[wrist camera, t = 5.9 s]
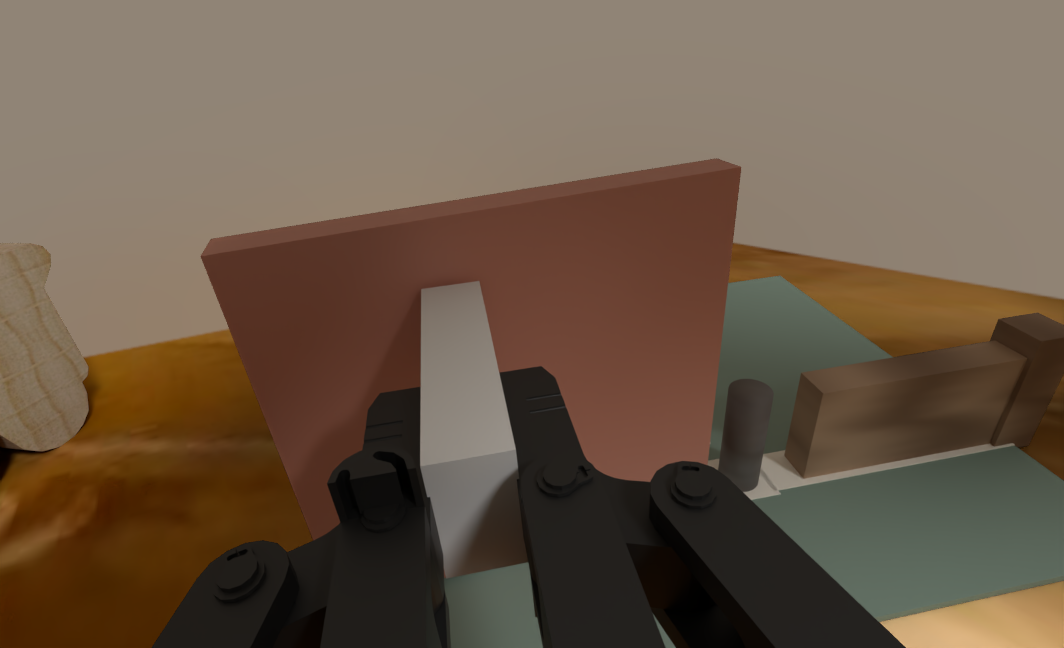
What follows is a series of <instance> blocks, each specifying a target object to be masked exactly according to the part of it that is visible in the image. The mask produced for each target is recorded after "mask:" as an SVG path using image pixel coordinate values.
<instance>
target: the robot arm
mask: <svg viewBox="0 0 1064 648" xmlns="http://www.w3.org/2000/svg"><path fill="white" fill-rule="evenodd" d="M327 486H328V489H329V491H330V494H331V497H332V500H333V503H334V506H335V508H336V511H337V514H338V517H339V520H340V524H339V525H337V526H336V527H335V528H333V529H332V530H331V531H330V532H328V533H327V534H325V535H323V536H321V537H319V538H318V539H316V540H314V541H312V542H309V543H307V544H305V545H303V546H300V547H298V548H296V549H294V550H291V551H289V552H286V551H285V550H284V549H283V548H282V547H281V546H280V545H279V544H277V543H274V542H269V541H264V540H262V541H256V542H249V543H245V544H242V545H240V546H238V547H235V548H233V549H231V550H228V551H227V552H225V553H224V554H222V555H221V556H220V557H218V558H217V559H216V560H214V561H213V562H211V563H210V564H209V565H208V567H207V568H206V569H205V570H204V571H203V572H202V573H201V575H200V576H199V577H198V578H197V580H196V581H195V583H194V584H193V586H192V587H191V589H190V590H189V592H188V593H187V595H186V596H185V598H184V599H183V601H182V602H181V604H180V605H179V607H178V608H177V610H176V611H175V613H174V614H173V616H172V618H171V619H170V621H169V622H168V624H167V625H166V627H165V628H164V630H163V631H162V633H161V634H160V636H159V637H158V639H157V640H156V642H155V643H154V645H153V646H152V648H451V639H450V618H449V606H448V601H447V597H446V593H445V586H444V571H445V575H446V579H447V578H452V577H457V576H462V575H467V574H472V573H477V572H482V571H487V570H492V569H497V568H502V567H507V566H512V565H517V564H522V563H527V562H528V563H529V568H530V576H531V584H532V593H533V602H534V611H535V617H537V619H538V624H539V629H540V635H541V640H542V645H543V648H666V647H665V645H664V642H663V639H662V637H661V634H660V631H659V629H658V626H657V624H656V621H655V618H656V619H657V621H658V622H659V624H660V625H661V627H662V628H663V629H664V631H665V632H666V634H667V635H668V637H669V638H670V640H671V641H672V643H673V644H674V646H675V647H676V648H906V647H905V646H903V645H902V644H901V643H900V642H899V641H898V640H897V639H896V638H895V637H894V636H893V635H892V634H891V633H890V632H889V631H888V630H887V629H886V628H885V627H884V626H883V625H881V624H880V623H879V622H878V621H877V620H876V619H875V618H874V617H873V616H872V615H871V614H870V613H869V612H868V611H867V610H866V609H865V608H864V607H863V606H862V605H861V604H860V603H858V602H857V601H856V600H855V599H854V598H853V597H852V596H851V595H850V594H849V593H848V592H847V591H846V590H845V589H844V588H843V587H842V586H841V585H840V584H839V583H838V582H837V581H835V580H834V579H833V578H832V577H831V576H830V575H829V574H828V573H827V572H826V571H825V570H824V569H823V568H822V567H821V566H820V565H819V564H818V563H817V562H816V561H815V560H813V559H812V558H811V557H810V556H809V555H808V554H807V553H806V552H805V551H804V550H803V549H802V548H801V547H800V546H799V545H798V544H797V543H796V542H795V541H794V540H793V539H792V538H790V537H789V536H788V535H787V534H786V533H785V532H784V531H783V530H782V529H781V528H780V527H779V526H778V525H777V524H776V523H775V522H774V521H773V520H772V519H771V518H770V517H769V516H767V515H766V514H765V513H764V512H763V511H762V510H761V509H760V508H759V507H758V506H757V505H756V504H755V503H754V502H753V501H752V500H751V499H750V498H749V497H748V496H747V495H745V494H744V493H743V492H742V491H741V490H740V489H739V488H738V487H737V486H736V485H735V484H734V483H733V482H732V481H731V480H730V479H729V478H728V477H727V476H725V475H724V474H722V473H721V472H720V471H718V470H717V469H715V468H714V467H711V466H708V465H705V464H702V463H699V462H691V461H679V462H674V463H670V464H667V465H665V466H664V467H662V468H660V469H659V470H657V471H656V473H655V474H654V476H653V478H652V479H651V481H650V482H646V481H633V480H624V479H618V478H614V477H611V476H608V475H605V474H603V473H602V472H600V471H598V470H597V469H595V467H594V466H593V464H592V463H590V462H589V461H587V459H586V457H585V455H584V454H583V451H582V448H581V446H580V443H579V440H578V437H577V435H576V432H575V429H574V427H573V424H572V421H571V419H570V416H569V413H568V410H567V408H566V405H565V402H564V400H563V397H562V396H561V392H560V389H559V386H558V383H557V381H556V378H555V377H554V376H553V375H552V374H550V373H549V372H548V371H547V370H546V369H544V368H543V367H542V366H538V367H531V368H525V369H519V370H512V371H506V372H500V373H499V369H498V365H497V360H496V356H495V351H494V346H493V342H492V337H491V333H490V328H489V323H488V319H487V314H486V309H485V305H484V300H483V296H482V291H481V286H480V282H479V281H475V282H468V283H461V284H453V285H446V286H439V287H432V288H425V289H421V387H415V388H409V389H402V390H396V391H390V392H384V393H380V394H379V395H378V396H377V398H376V399H375V400H374V402H373V403H372V405H371V406H370V407H369V409H368V413H367V420H366V430H365V434H364V444H363V448H362V451H358V452H357V453H355V454H353V455H351V456H350V457H348V458H346V459H345V460H343V461H342V462H341V463H340V464H339V465H338V466H337V467H336V468H335V469H334V470H333V471H332V473H331V476H330V478H329V480H328V482H327ZM653 615H654V616H655V618H654V616H653Z"/></svg>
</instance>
